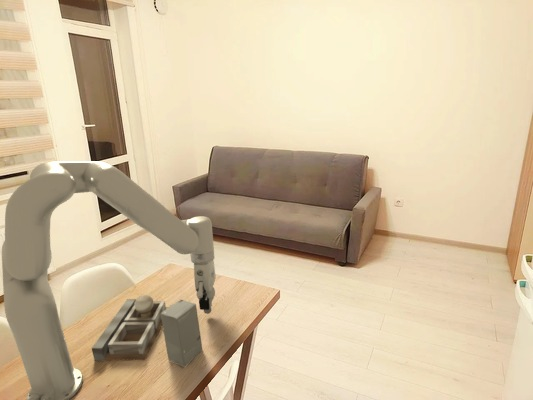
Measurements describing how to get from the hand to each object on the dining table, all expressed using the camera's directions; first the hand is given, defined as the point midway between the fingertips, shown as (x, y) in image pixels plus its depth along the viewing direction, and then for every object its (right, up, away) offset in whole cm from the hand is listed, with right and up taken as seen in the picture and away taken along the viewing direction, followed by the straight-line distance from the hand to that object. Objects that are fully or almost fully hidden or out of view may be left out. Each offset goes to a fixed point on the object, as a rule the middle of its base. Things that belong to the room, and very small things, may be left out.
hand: (206, 302), depth 114 cm
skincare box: (-4, -11, -15) cm, 19 cm away
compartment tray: (-22, -8, -5) cm, 24 cm away
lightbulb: (0, -4, +1) cm, 4 cm away
